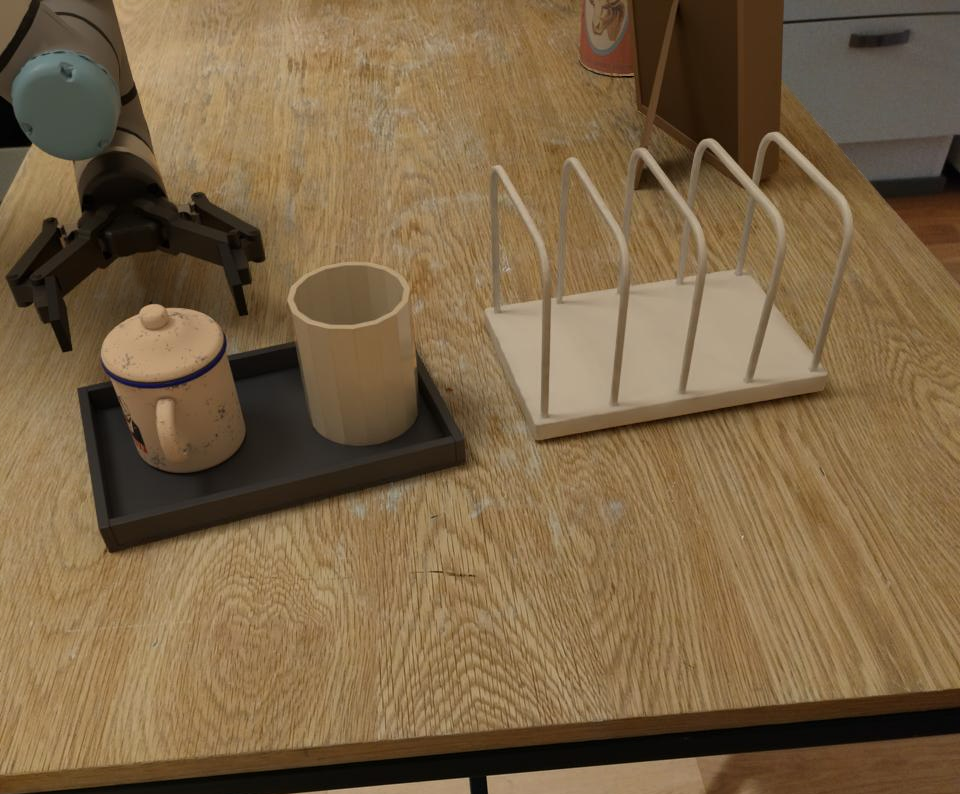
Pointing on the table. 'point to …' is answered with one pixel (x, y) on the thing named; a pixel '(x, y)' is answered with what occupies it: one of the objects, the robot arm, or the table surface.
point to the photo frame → (710, 75)
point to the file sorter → (655, 319)
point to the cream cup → (356, 351)
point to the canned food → (606, 36)
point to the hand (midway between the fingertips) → (152, 318)
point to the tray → (251, 456)
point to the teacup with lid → (175, 388)
